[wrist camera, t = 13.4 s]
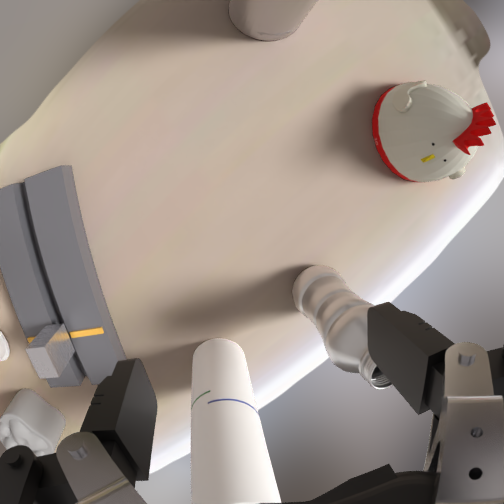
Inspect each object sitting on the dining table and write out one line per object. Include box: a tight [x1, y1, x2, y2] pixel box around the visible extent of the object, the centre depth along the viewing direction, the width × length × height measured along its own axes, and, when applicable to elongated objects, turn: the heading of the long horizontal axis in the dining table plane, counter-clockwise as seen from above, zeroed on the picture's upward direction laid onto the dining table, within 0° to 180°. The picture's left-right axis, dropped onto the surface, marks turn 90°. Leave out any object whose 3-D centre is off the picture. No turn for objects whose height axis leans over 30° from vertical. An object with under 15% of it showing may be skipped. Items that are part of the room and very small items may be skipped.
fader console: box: [0, 166, 127, 387], centre depth 34 cm, size 28×13×3 cm, turn 10°
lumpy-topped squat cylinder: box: [0, 388, 66, 457], centre depth 36 cm, size 10×13×9 cm
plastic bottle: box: [292, 265, 393, 390], centre depth 31 cm, size 6×7×20 cm
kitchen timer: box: [372, 81, 496, 182], centre depth 31 cm, size 14×14×15 cm
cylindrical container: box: [191, 338, 281, 504], centre depth 30 cm, size 7×7×25 cm
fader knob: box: [25, 323, 75, 378], centre depth 32 cm, size 4×3×9 cm
